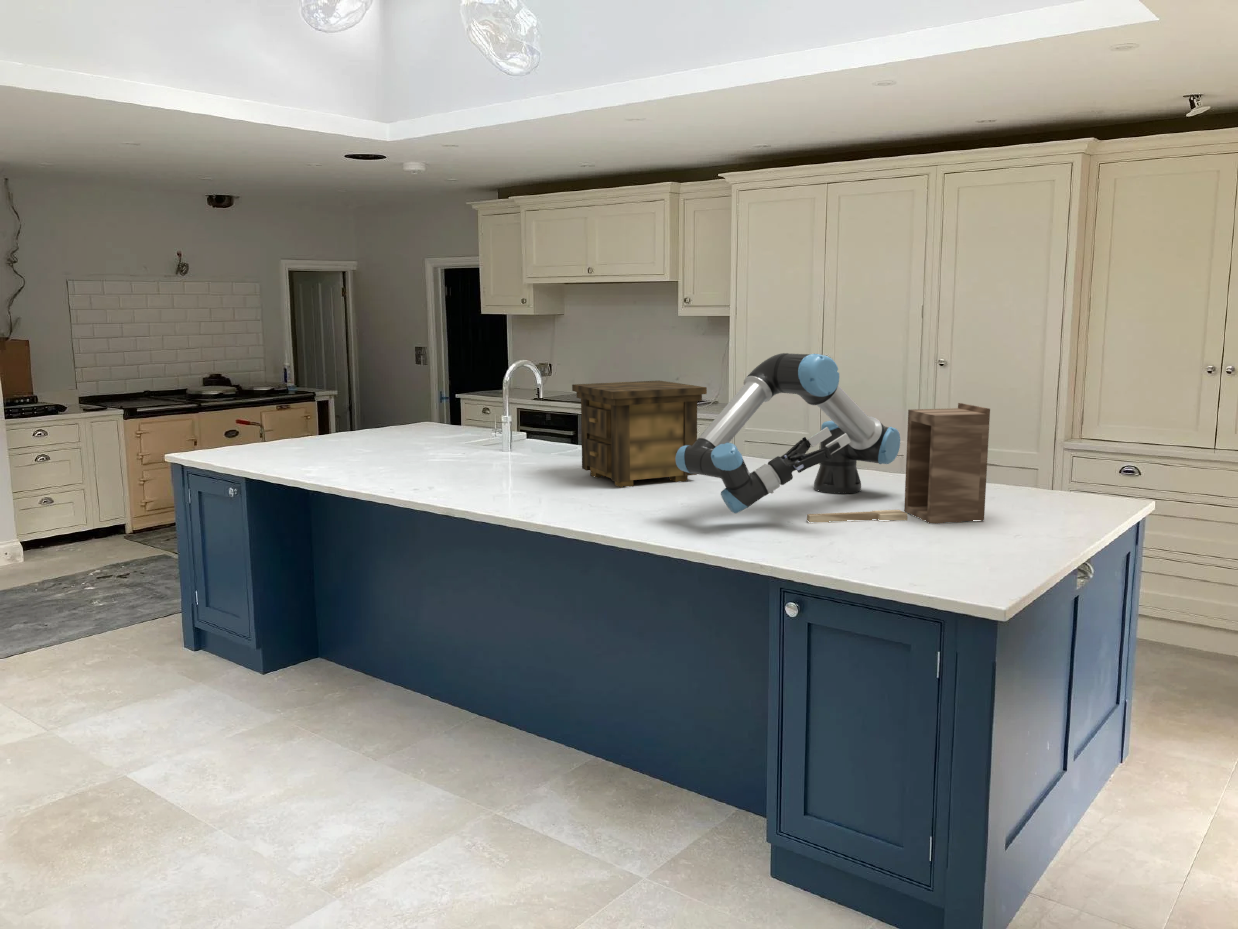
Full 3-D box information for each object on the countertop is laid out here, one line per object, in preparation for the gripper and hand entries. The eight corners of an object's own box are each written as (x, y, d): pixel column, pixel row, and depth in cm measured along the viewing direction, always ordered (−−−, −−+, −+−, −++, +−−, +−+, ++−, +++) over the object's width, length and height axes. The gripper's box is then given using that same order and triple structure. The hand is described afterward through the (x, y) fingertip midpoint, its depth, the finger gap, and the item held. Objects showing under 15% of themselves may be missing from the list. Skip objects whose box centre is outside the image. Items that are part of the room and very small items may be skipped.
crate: (706, 481, 330) (706, 387, 325) (613, 490, 316) (612, 391, 310) (659, 467, 362) (659, 380, 356) (573, 474, 347) (572, 384, 342)
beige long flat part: (804, 520, 270) (804, 512, 270) (898, 516, 274) (898, 508, 274) (811, 524, 265) (811, 517, 264) (907, 520, 269) (907, 513, 269)
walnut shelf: (904, 511, 280) (908, 404, 275) (955, 509, 283) (960, 402, 277) (930, 523, 264) (935, 410, 259) (984, 521, 267) (990, 408, 262)
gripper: (766, 478, 276) (827, 439, 277) (795, 494, 252) (863, 452, 253) (753, 456, 275) (816, 417, 276) (782, 470, 250) (850, 428, 251)
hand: (838, 434), depth 264 cm, fingers open, 13 cm apart
